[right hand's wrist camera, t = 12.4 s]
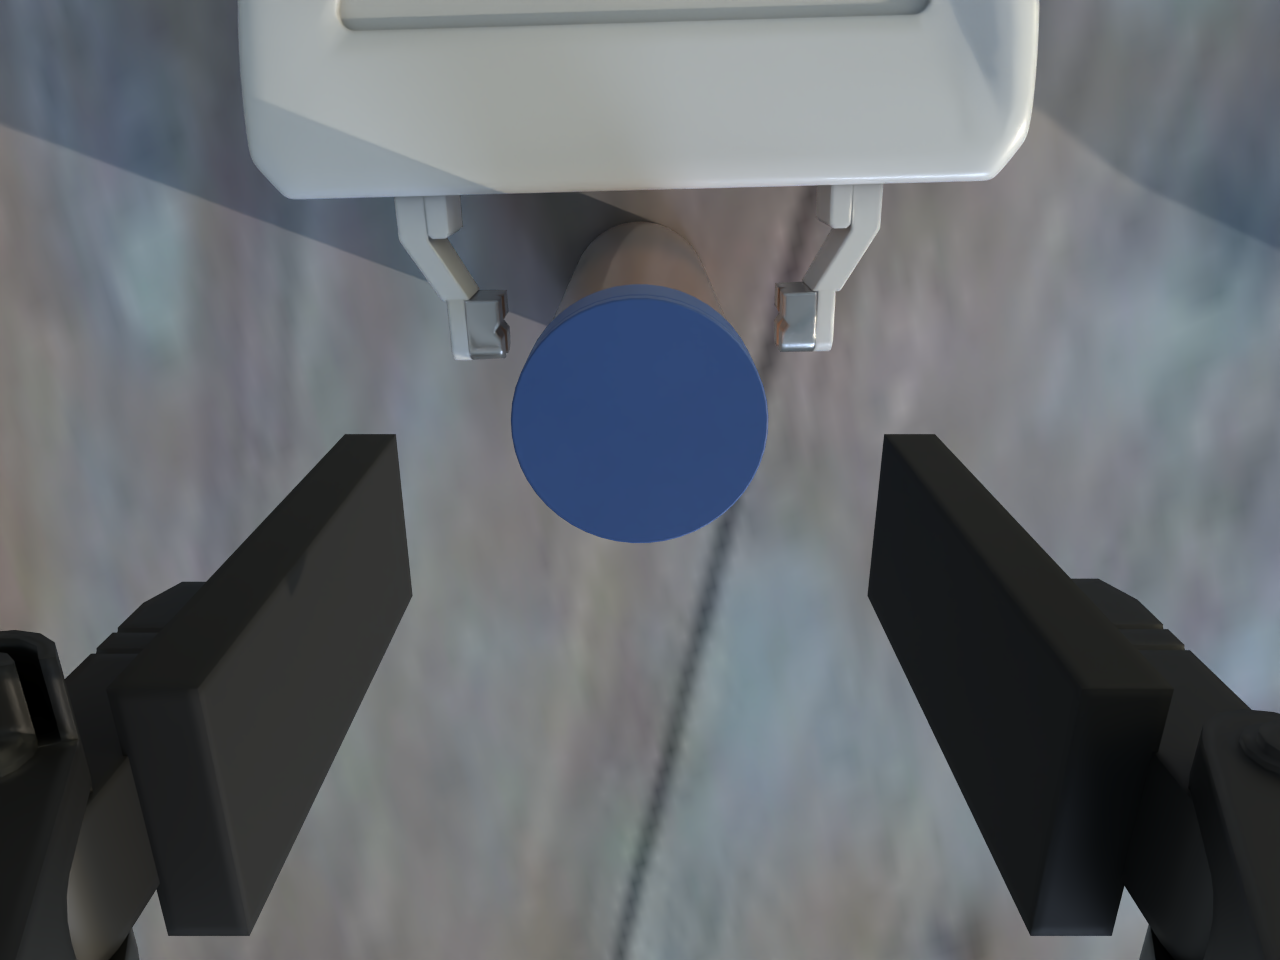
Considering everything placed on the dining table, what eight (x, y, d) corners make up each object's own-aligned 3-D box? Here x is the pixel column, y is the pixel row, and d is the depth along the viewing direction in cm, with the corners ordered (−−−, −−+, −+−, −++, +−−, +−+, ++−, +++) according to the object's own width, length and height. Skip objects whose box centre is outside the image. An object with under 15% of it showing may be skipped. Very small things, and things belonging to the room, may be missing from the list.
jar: (734, 283, 33) (806, 408, 18) (646, 382, 34) (651, 570, 20) (632, 191, 31) (626, 249, 17) (545, 297, 33) (473, 431, 19)
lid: (807, 391, 20) (822, 414, 18) (651, 553, 21) (652, 588, 19) (626, 230, 18) (624, 240, 17) (473, 414, 20) (459, 439, 18)
